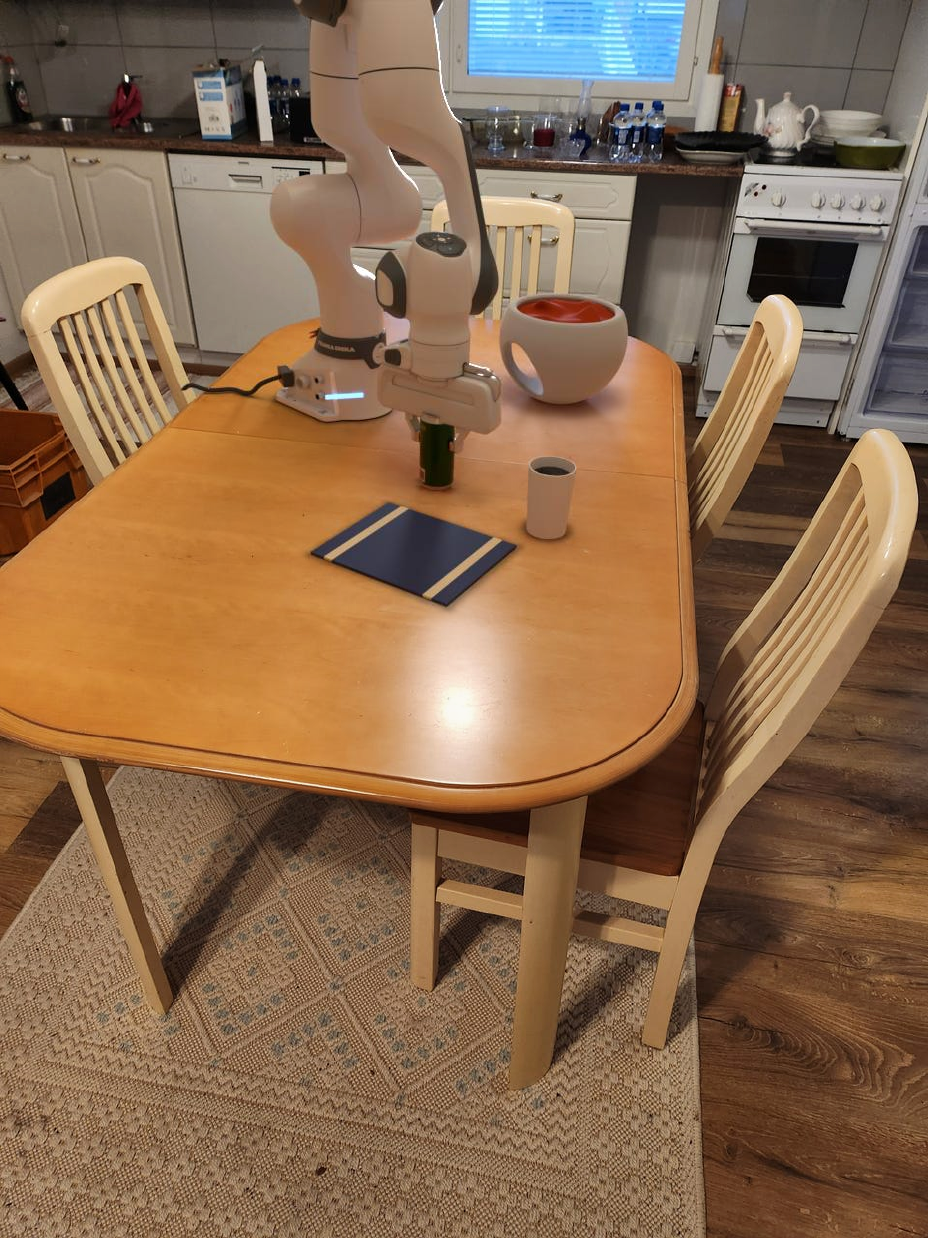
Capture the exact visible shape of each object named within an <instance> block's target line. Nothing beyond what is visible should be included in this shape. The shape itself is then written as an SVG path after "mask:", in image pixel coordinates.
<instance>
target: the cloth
mask: <svg viewBox="0 0 928 1238" xmlns="http://www.w3.org/2000/svg"><path fill="white" fill-rule="evenodd" d="M517 546H518V545H517V544H515V543H512V542H509V541H506V540H504V539H501V538H498V537H495V536H491V535H488V534H486V533H482V532H480V531H476V530H473V529H470V528H467V527H464V526H461V525H459V524H456V523H452V522H450V521H447V520H444V519H440V518H437V517H434V516H433V515H429V514H427V513H422V512H421V511H417V510H414V509H411V508H409V507H406V506H402V505H398V504H396V503H393V502H390V501H388V502H386V503H385V504H383V505H382V506H380V507H379V508H377V509H375V510H374V511H372V512H371V513H369V514H368V515H366V516H364V517H363V518H361V519H360V520H358V521H357V522H355V523H353V524H352V525H350V526H348V527H347V528H346V529H343V530H342V531H340V532H339V533H338V534H336V535H335V536H333V537H331V538H329V539H328V540H327V541H325V542H324V543H322V544H320V545H319V546H318V547H316V548H314V549H313V550H310V555H311V556H314V557H317V558H320V559H322V560H325V561H327V562H330V563H332V564H335V565H336V566H337V565H338V566H340V567H343V568H345V569H348V570H350V571H353V572H355V573H358V574H361V575H363V576H366V577H369V578H372V579H374V580H377V581H379V582H381V583H384V584H387V585H389V586H392V587H395V588H397V589H400V590H402V591H405V592H407V593H410V594H413V595H416V596H417V597H420V598H423V599H426V600H429V601H431V602H433V603H437V604H438V605H441V606H444V607H445V608H446V607H448V606H450V605H451V604H452V603H453V602H454V601H455V600H457V599H458V598H459V597H460V596H461V595H462V594H463V593H465V592H466V591H467V590H468V589H469V588H470V587H472V586H473V585H474V584H475V583H476V582H478V581H479V580H480V579H481V578H483V576H484V575H486V574H488V572H489V571H490V570H491V569H493V568H494V567H495V566H496V565H498V564H499V563H500V562H501V561H502V560H504V559H505V557H507V556H509V554H511V553H512V552H513V551H514V550H515V549H517Z"/></svg>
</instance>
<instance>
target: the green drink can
mask: <svg viewBox="0 0 928 1238" xmlns="http://www.w3.org/2000/svg"><path fill="white" fill-rule="evenodd" d="M422 414H423V415H422V416H421V417H419V422H420V442H419V474H418V475H419V478H418V479H419V482H420V484H421V486H422V487H423V488H425V489H426V490H430V491H444V490H447V489H449V488H451V487H452V484H453V483H454V480H455V454H456V453H453V452H450V451H449V448H450V446H449V443H450V441H451V440H453V439H455V438H456V427H455V426H451V425H448V424H444V423H443V422H442V421H441V420H440V417H436V416H434V415H431V414H429V415H427V414H425V413H424V412H422Z"/></svg>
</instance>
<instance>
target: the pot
mask: <svg viewBox="0 0 928 1238" xmlns="http://www.w3.org/2000/svg"><path fill="white" fill-rule="evenodd" d="M628 331H629V329H628V322H627V317H626V314H625V312H624V310H623V309H622V308H621V307H620V306H618V305H616V304H615V303H613V302H610V301H607V300H606V299H605V300H604V299H602V298H597V297H593V296H588V295H583V294H575V293H561V292H556V293H555V292H548V293H547V292H546V293H536V294H535V293H534V294H528V295H523V296H520V297H517V298H515V299H513V300H512V301H510V302H509V303H508V305H507V306H506V309H505V311H504V313H503V316H502V319H501V322H500V327H499V338H498V339H499V341H498V342H499V343H498V344H499V350H500V356H501V360H502V362H503V366H504V368H505V370H506V372H507V373H508V375H509V376H510V378H511V379H512V380H513V382H514V383H515V384H516V385H517V386H518V387H519V388H520V389H521V390H522V391H523V392H524V393H526V394H527V395H529V396H530V397H532V398H534V399H536V400H538V401H540V402H544V403H548V404H554V405H570V404H575V403H579V402H582V401H584V400H587V399H589V398H591V397H593V396H595V395H596V394H598V393H599V392H601V391H602V390H603V389H604V388H606V387H607V385H609V384H610V382H611V381H612V380H613V379H614V378H615V376H616V375H617V373H618V372H619V370H620V368H621V366H622V364H623V361H624V359H625V356H626V352H627V348H628V342H629V341H628V340H629V332H628ZM512 344H515V345H518V346H519V347H520V349H522V351H523V352H524V353H525V355H526V357H527V358H528V359H529V361H530V362H531V364H532V366H533V368H534V370H535V371H536V373H537V374H536V375H538V377H531V376H529V375H527V374H525V373H524V372H523V371H522V370H521V369H520V368H519V367H518V365H517V363H516V361H515V360H514V356H513V348H512V347H513V345H512Z"/></svg>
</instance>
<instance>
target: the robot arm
mask: <svg viewBox="0 0 928 1238" xmlns="http://www.w3.org/2000/svg"><path fill="white" fill-rule="evenodd" d="M444 1H445V0H291V2H292V4H293V5H294V7H295V8H296V9H297V10H298V11H299V13H300V14H301V15H302V16H304V18H307V19H310V20H311V22H310V24H311V25H310V34H309V55H308V57H309V58H308V59H309V92H310V93H309V95H310V96H309V97H310V121H311V125H312V128H313V130H314V132H315V134H316V135H317V137H318V138H319V139H320V140H321V141H322V142H323V143H325V144H326V145H328V146H329V147H331V148H332V149H334V150H336V151H338V152H339V153H342V154H343V155H344V158H345V162H346V172H343V173H319V174H318V173H316V174H304V175H300V176H296V177H292V178H289V179H286V180H282V181H280V182H279V183H277V185H276V186H275V188H274V190H273V192H272V195H271V197H270V200H269V218H270V221H271V225H272V227H273V230H274V233H276V235H277V237H278V238H279V239H280V240H281V241H282V242H283V244H285V245H286V247H289V248H290V249H291V250H293V251H294V252H295V253H296V254H297V255H299V257H300V258H301V259H302V260H303V261H304V263H305V264H306V265H307V267H308V269H309V271H310V272H311V274H312V277H313V280H314V282H315V286H316V291H317V298H318V307H319V318H320V319H319V320H320V326H319V327H317V328H316V329H314V330H312V331H309V332H308V334H311V335H309V337H308V338H309V339H310V340H311V339H314V338H315V342H314V344H313V347H311V349H310V350H308V351H307V352H306V353H304V354H303V355H302V356H301V357H299V358H298V359H297V360H296V361H294V362H293V363H292V364H291V365H290V367H289V366H288V364H284V365H277V368H276V369H277V374H276V375H273V376H270V377H268V378H265V379H263V380H261V381H259V382H258V383H256V384H255V385H254V386H253V387H252V388H251V389H249V390H245V389H241V388H239V387H235V386H224V387H223V386H222V387H207V386H203V385H201V384H198V383H195V382H189V383H186V384H184V385H183V386H182V387H181V388H180V391H183V392H184V391H187V390H189V389H196V390H199V391H202V392H204V393H212V394H213V393H227V392H228V393H229V392H231V393H236V394H239V395H243V396H252V395H254V394H256V393H257V392H258V391H259V390H260V388H261V387H263V386H266V385H267V384H270V383H273V382H276V381H278V382H279V383H280V384H281V386H282V387H281V388H280V389H279V390H278V391H277V392H276V394H275V401H276V402H279V403H281V404H284V405H285V406H288V407H290V408H292V409H295V410H297V411H299V412H301V413H304V414H305V415H307V416H310V417H312V418H315V419H317V420H319V421H322V422H324V423H325V422H327V423H329V422H336V421H360V420H361V421H362V420H370V419H375V418H378V417H383V416H384V415H386V414H389V413H390V412H391V411H392V410H395V411H398V412H401V413H404V420H405V421H406V424H407V426H408V428H409V430H410V432H411V441H413V442H416V443H420V419H419V418H420V417H421V416H422V415H423V414H422V412H424V413H425V414H427V415H429V414H431V415H434V416H436V417H440V420H441V421H442V422H443V423H444V424H448V425H451V426H455V434H458V435H457V436H456V437H455V439H453V440H451V441H450V443H449V446H450V448H449V451H450V452H453V453H455V454H456V455H459V454H461V453H462V452H463V451H464V448H465V447H464V443H465V441H466V439H467V438H468V436H469V434H470V433H471V432H473V433H477V434H480V435H484V436H486V435H489V434H491V433H493V432H494V431H496V430H497V429H498V428H499V427H500V425H501V423H502V402H501V401H502V400H501V393H502V380H501V379H500V377H499V376H498V375H497V374H496V373H495V372H494V370H493V369H491V368H488V367H481V366H478V365H476V364H472V363H470V357H471V330H470V325H469V317H470V316H479V315H481V314H482V313H484V312H485V310H487V308H488V307H489V306H490V305H491V304H492V302H493V300H494V299H495V297H496V295H497V293H498V290H499V283H500V278H499V277H500V276H499V270H498V266H497V263H496V259H495V255H494V252H493V250H492V247H491V243H490V240H489V235H488V230H487V225H486V219H485V214H484V208H483V202H482V198H481V191H480V185H479V180H478V173H477V170H476V165H475V160H474V155H473V151H472V146H471V142H470V138H469V135H468V132H467V130H466V127H465V125H464V123H462V121H460V120H459V119H458V118H456V117H455V116H454V114H453V111H451V108H450V106H449V105H448V102H447V99H446V96H445V92H444V88H443V83H442V73H441V60H440V50H439V49H440V48H439V40H438V33H437V28H436V22H435V16H436V15H437V14H438V12H439V11H440V9H441V8H442V7H443V4H444ZM391 150H393V151H395V152H398V153H400V154H402V155H404V156H407V157H409V158H411V159H414V160H416V161H418V162H420V163H421V164H423V165H425V166H427V167H428V168H429V169H431V170H432V171H433V172H434V173H435V174H436V176H437V177H438V179H439V180H440V183H441V185H442V188H443V192H444V198H445V202H446V208H447V212H448V217H449V222H450V228H451V232H452V233H450V232H445V231H439V230H433V231H432V230H431V231H426V232H421V233H420V234H419V233H418V234H417V235H416V236H415V234H416V233H417V231H418V229H419V227H420V225H421V222H422V220H423V213H424V207H423V206H424V205H423V204H424V203H423V199H422V196H421V192H420V190H419V188H418V187H417V184H416V183H415V182H414V181H413V180H412V178H411V177H409V176H408V175H407V174H406V173H405V172H404V171H403V170H402V169H401V167H400V166H399V165H398V163H397V161H396V160H395V158H394V156H393V153H392V152H391ZM413 236H415V237H414V238H413V239H412V242H411V244H410V245H408V246H404V247H400V248H396V249H392V250H388V251H387V252H386V253H384V255H383V256H382V257H381V259H380V260H379V262H378V264H377V266H376V268H375V272H374V274H373V273H372V272H370V271H368V270H367V269H365V268H363V267H361V266H358V265H356V264H354V262H353V260H352V256H351V248H354V247H365V246H366V247H367V246H379V245H390V244H393V243H396V242H401V241H403V240H406V239H408V238H409V239H410V238H412V237H413ZM384 311H385V313H387V314H388V315H389V316H391V317H393V318H395V319H397V320H398V319H399V320H407V321H408V322H409V332H408V337H405V338H402V339H399V340H397V341H393V342H391V343H389V344H387V329H386V328H385V327H384V325H385V324H384V322H385V321H384ZM208 388H209V389H208Z"/></svg>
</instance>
